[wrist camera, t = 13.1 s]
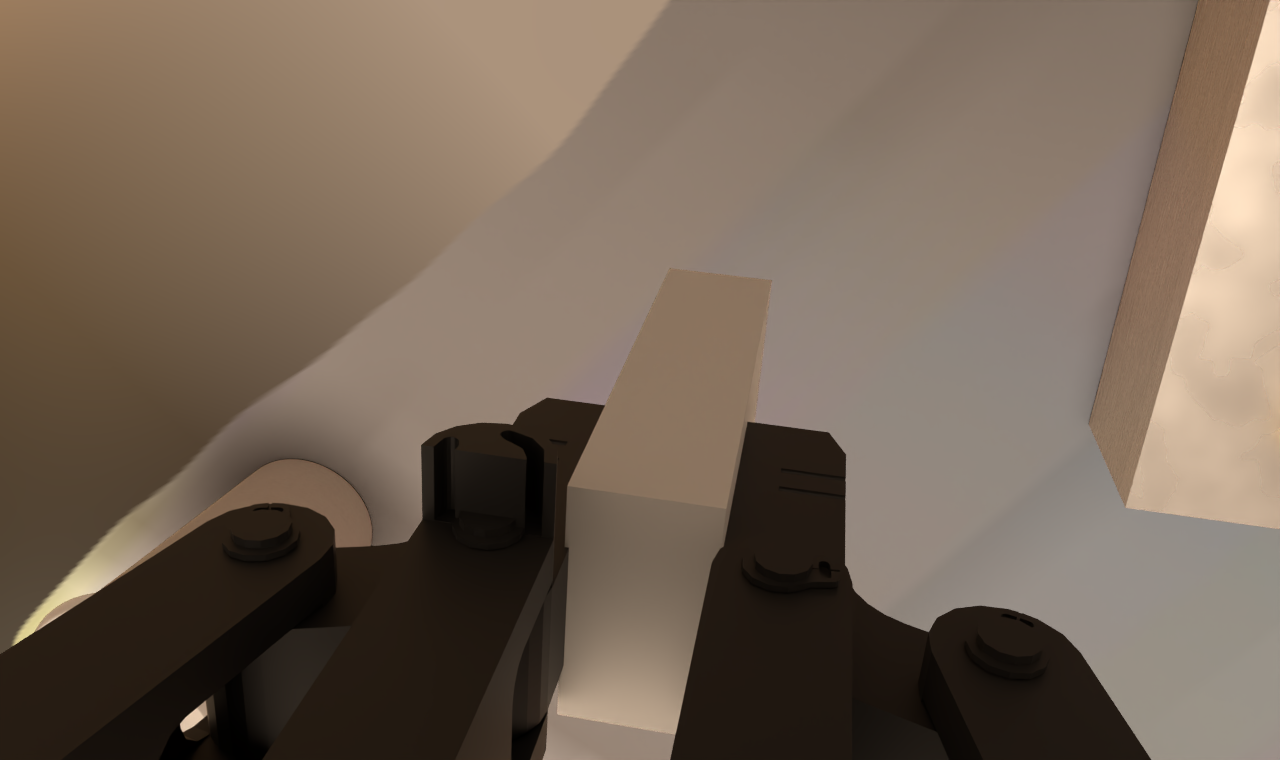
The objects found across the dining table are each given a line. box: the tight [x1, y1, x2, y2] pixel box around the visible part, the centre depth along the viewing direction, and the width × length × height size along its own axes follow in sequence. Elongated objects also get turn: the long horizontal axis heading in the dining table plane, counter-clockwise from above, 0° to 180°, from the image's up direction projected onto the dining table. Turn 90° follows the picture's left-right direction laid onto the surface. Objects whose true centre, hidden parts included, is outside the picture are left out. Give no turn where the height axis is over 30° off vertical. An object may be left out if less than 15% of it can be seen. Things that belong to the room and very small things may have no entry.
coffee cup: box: [35, 459, 372, 732], centre depth 45 cm, size 10×10×15 cm
